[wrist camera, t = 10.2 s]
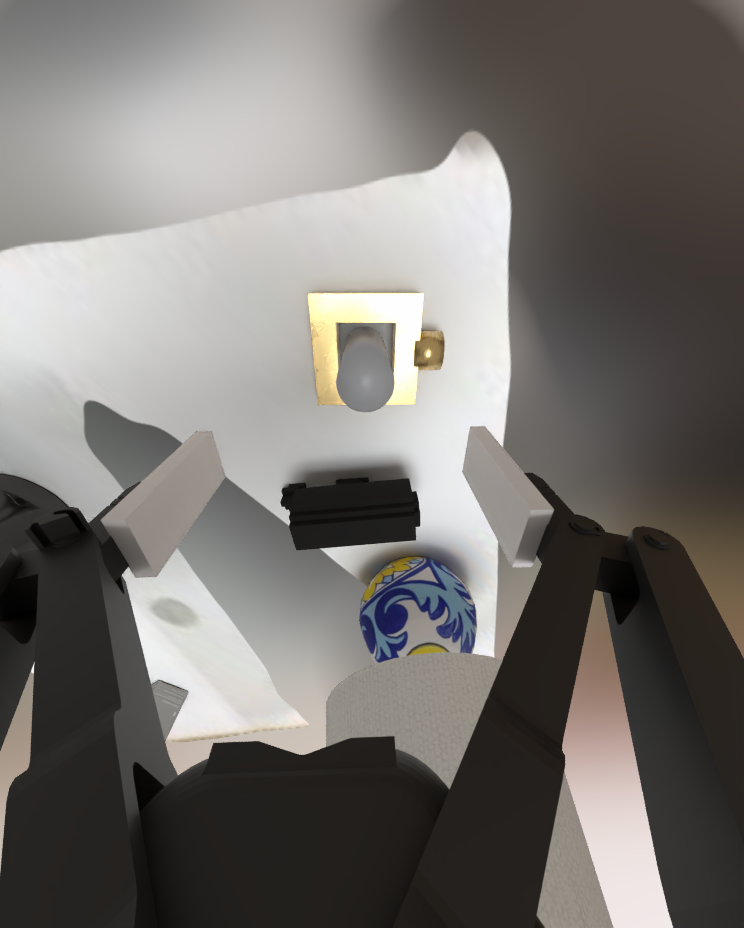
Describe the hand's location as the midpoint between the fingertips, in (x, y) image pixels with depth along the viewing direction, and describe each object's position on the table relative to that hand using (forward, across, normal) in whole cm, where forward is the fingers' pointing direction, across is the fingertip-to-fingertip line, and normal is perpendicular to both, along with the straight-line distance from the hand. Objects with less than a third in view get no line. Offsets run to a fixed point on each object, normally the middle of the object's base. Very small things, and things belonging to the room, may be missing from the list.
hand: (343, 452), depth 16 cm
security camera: (+23, -2, -18) cm, 29 cm away
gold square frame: (+23, +3, +1) cm, 23 cm away
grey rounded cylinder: (+23, +1, +1) cm, 23 cm away
